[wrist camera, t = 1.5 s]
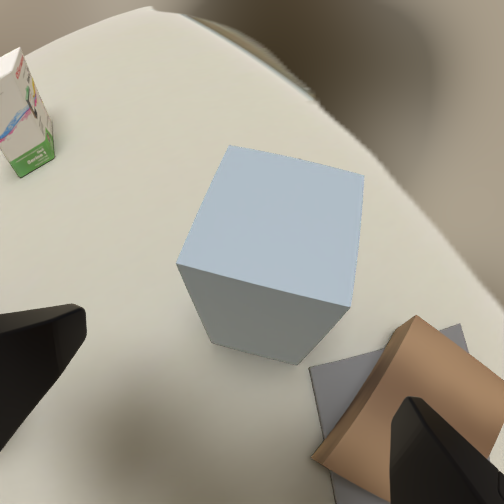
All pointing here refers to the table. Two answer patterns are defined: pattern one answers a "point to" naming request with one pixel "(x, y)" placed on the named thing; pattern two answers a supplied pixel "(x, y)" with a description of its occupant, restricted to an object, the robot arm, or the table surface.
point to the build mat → (340, 397)
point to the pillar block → (273, 253)
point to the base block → (419, 385)
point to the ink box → (22, 117)
